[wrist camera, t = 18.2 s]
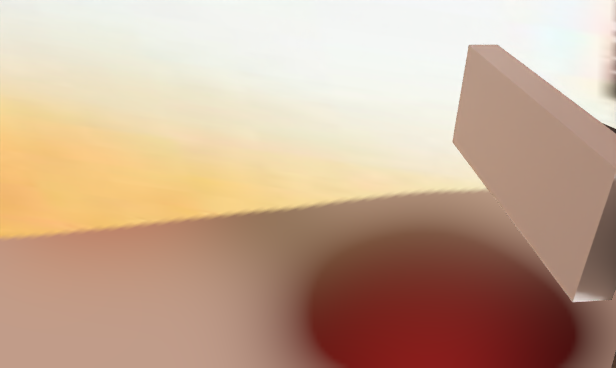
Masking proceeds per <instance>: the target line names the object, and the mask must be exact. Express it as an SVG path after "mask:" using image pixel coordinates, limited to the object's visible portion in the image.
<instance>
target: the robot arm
mask: <svg viewBox="0 0 616 368" xmlns="http://www.w3.org/2000/svg"><path fill="white" fill-rule="evenodd" d="M453 143H454V145H455V146H456V147H457V149H458V150H459V151H460V153H461V154H462V155H463V157H464V158H465V159H466V161H467V162H468V163H469V165H470V166H471V167H472V169H473V170H474V171H475V173H476V174H477V175H478V177H479V178H480V179H481V181H482V182H483V183H484V185H485V186H486V187H487V189H488V190H489V191H490V193H491V194H492V195H493V197H494V198H495V199H496V201H497V202H498V203H499V205H500V206H501V207H502V209H503V210H504V211H505V212H506V214H507V215H508V217H509V218H510V219H511V221H512V222H513V223H514V225H515V226H516V227H517V229H518V230H519V231H520V233H521V234H522V235H523V236H524V238H525V239H526V241H527V242H528V243H529V245H530V246H531V247H532V249H533V250H534V251H535V253H536V254H537V255H538V257H539V258H540V259H541V261H542V262H543V263H544V265H545V266H546V267H547V269H548V270H549V271H550V273H551V274H552V275H553V277H554V278H555V279H556V281H557V282H558V283H559V285H560V286H561V287H562V289H563V290H564V291H565V292H566V294H567V295H568V297H569V298H570V299H571V301H572V302H583V301H599V300H612V298H613V295H614V292H615V290H616V129H614V128H612V127H610V126H607V125H605V124H603V123H601V122H600V121H598V120H597V119H596V118H594V117H593V116H592V115H590V114H589V113H588V112H586V111H585V110H584V109H582V108H581V107H580V106H578V105H577V104H576V103H574V102H573V101H572V100H570V99H569V98H568V97H566V96H565V95H564V94H562V93H561V92H560V91H558V90H557V89H556V88H554V87H553V86H552V85H550V84H549V83H548V82H546V81H545V80H544V79H542V78H541V77H540V76H538V75H537V74H536V73H534V72H533V71H532V70H530V69H529V68H528V67H526V66H525V65H524V64H522V63H521V62H520V61H518V60H517V59H516V58H514V57H513V56H512V55H510V54H509V53H508V52H506V51H505V50H504V49H502V48H501V47H500V46H498V45H469V47H468V53H467V59H466V65H465V71H464V77H463V83H462V89H461V94H460V100H459V106H458V112H457V118H456V124H455V130H454V136H453ZM612 368H616V352H615V356H614V360H613V364H612Z"/></svg>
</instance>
